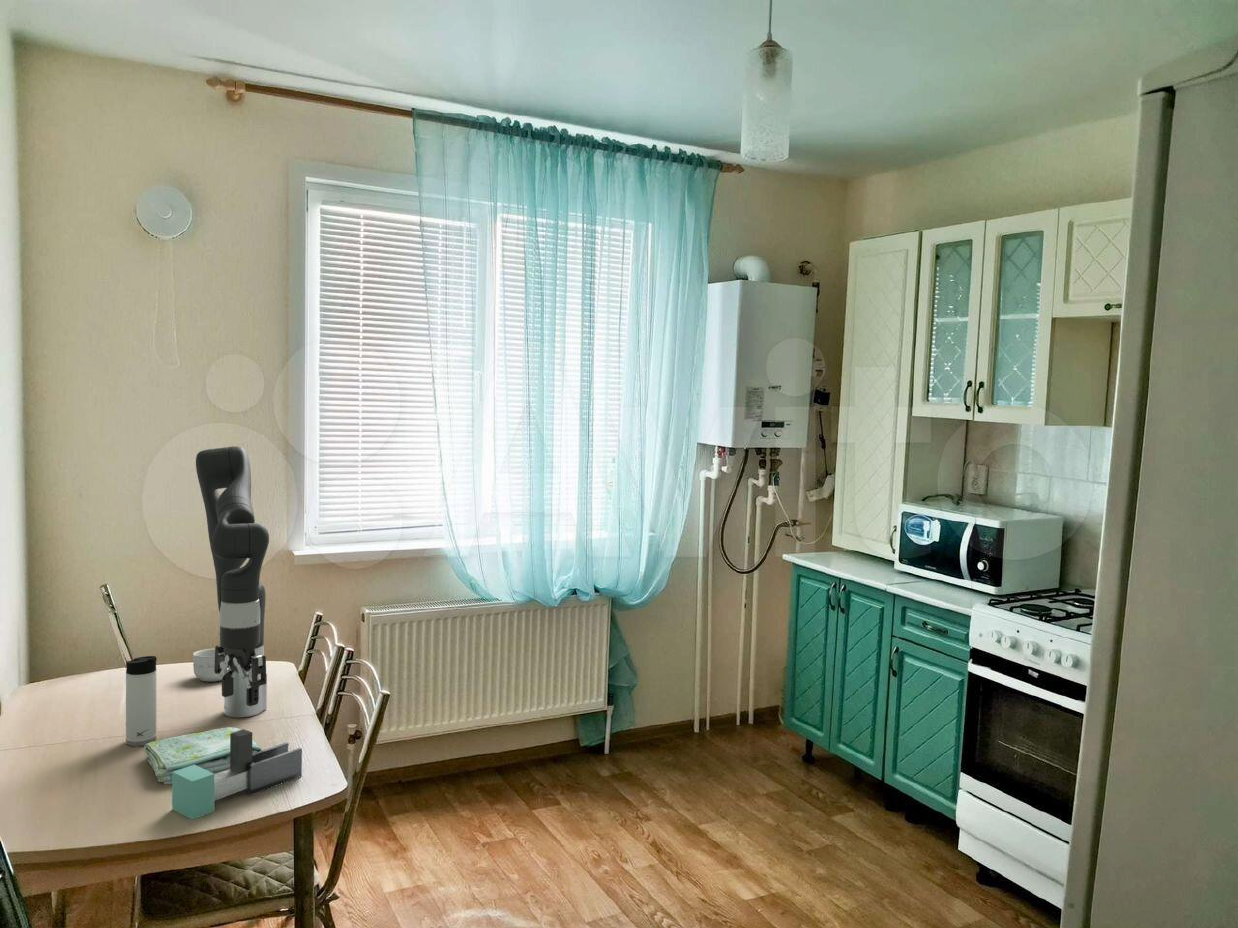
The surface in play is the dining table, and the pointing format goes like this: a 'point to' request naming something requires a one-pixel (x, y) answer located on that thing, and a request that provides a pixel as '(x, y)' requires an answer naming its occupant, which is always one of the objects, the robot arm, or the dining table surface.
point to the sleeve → (273, 767)
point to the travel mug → (141, 701)
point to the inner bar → (235, 766)
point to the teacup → (205, 665)
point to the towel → (192, 752)
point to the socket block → (193, 791)
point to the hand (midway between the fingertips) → (239, 700)
